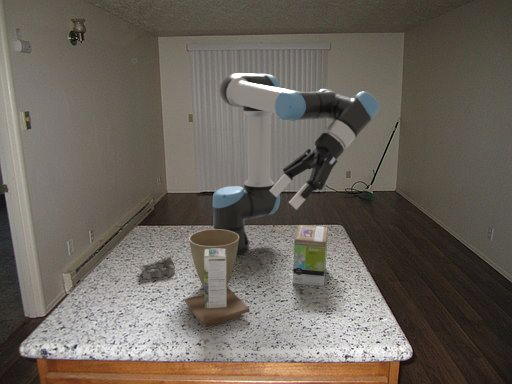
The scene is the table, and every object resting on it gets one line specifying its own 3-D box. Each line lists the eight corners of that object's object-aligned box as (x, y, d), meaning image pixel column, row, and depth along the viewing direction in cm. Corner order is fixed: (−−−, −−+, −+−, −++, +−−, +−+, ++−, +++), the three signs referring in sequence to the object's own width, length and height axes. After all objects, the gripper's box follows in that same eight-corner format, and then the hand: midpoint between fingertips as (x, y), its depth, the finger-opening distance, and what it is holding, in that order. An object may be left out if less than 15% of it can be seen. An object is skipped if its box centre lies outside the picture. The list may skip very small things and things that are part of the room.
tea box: (324, 287, 120) (326, 241, 117) (292, 284, 122) (292, 239, 119) (326, 266, 135) (328, 225, 131) (297, 264, 137) (297, 223, 133)
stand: (185, 308, 108) (184, 298, 108) (228, 297, 114) (228, 287, 114) (202, 332, 97) (202, 321, 97) (249, 318, 103) (249, 308, 103)
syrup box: (205, 298, 108) (203, 248, 104) (226, 297, 108) (225, 247, 105) (205, 309, 102) (202, 256, 99) (227, 307, 103) (226, 255, 100)
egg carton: (173, 267, 136) (172, 256, 135) (176, 276, 129) (175, 264, 128) (140, 271, 132) (140, 260, 131) (142, 281, 125) (141, 269, 125)
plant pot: (205, 303, 111) (203, 250, 108) (183, 283, 123) (180, 234, 120) (249, 288, 120) (248, 239, 116) (224, 271, 131) (223, 225, 128)
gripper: (368, 156, 97) (311, 221, 95) (320, 145, 120) (274, 197, 118) (351, 135, 94) (292, 202, 93) (305, 128, 117) (257, 181, 115)
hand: (281, 199), depth 105 cm, fingers open, 13 cm apart
